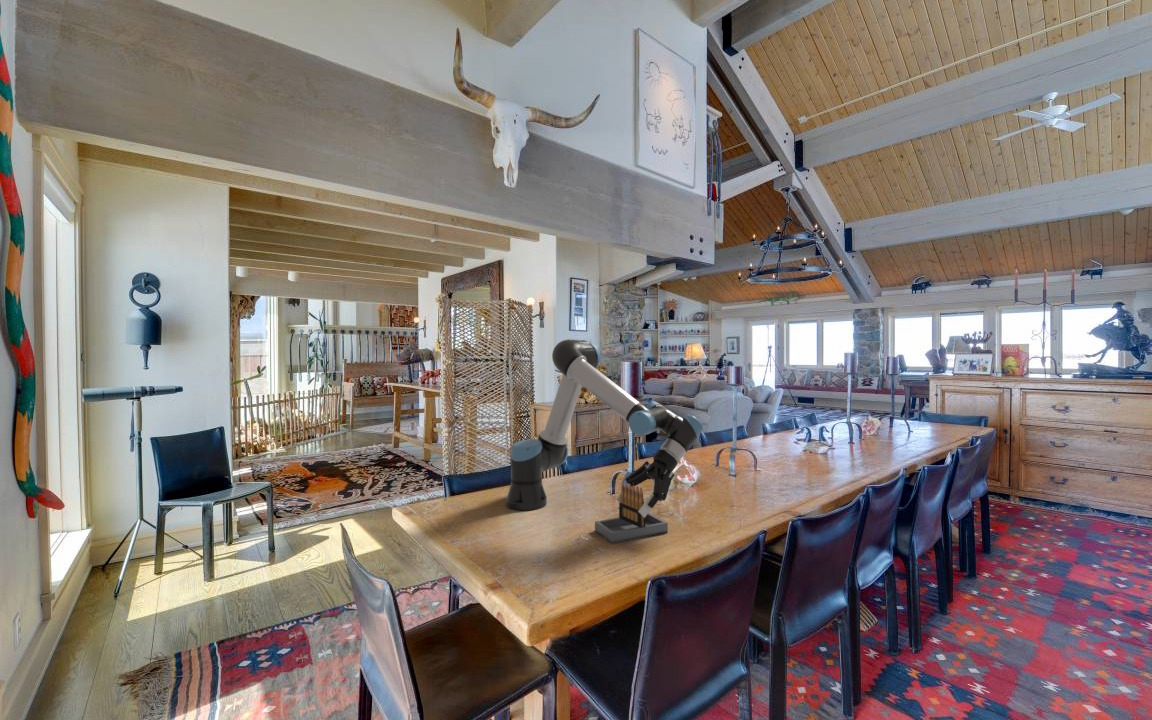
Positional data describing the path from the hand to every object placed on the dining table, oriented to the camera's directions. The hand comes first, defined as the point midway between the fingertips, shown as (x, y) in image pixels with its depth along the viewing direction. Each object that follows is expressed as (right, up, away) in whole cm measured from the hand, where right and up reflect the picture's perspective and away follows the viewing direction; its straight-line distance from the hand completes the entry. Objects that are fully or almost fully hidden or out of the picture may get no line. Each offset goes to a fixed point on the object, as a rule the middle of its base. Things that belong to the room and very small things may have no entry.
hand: (629, 508), depth 144 cm
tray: (+1, -8, +1) cm, 8 cm away
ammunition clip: (+1, -5, +1) cm, 5 cm away
